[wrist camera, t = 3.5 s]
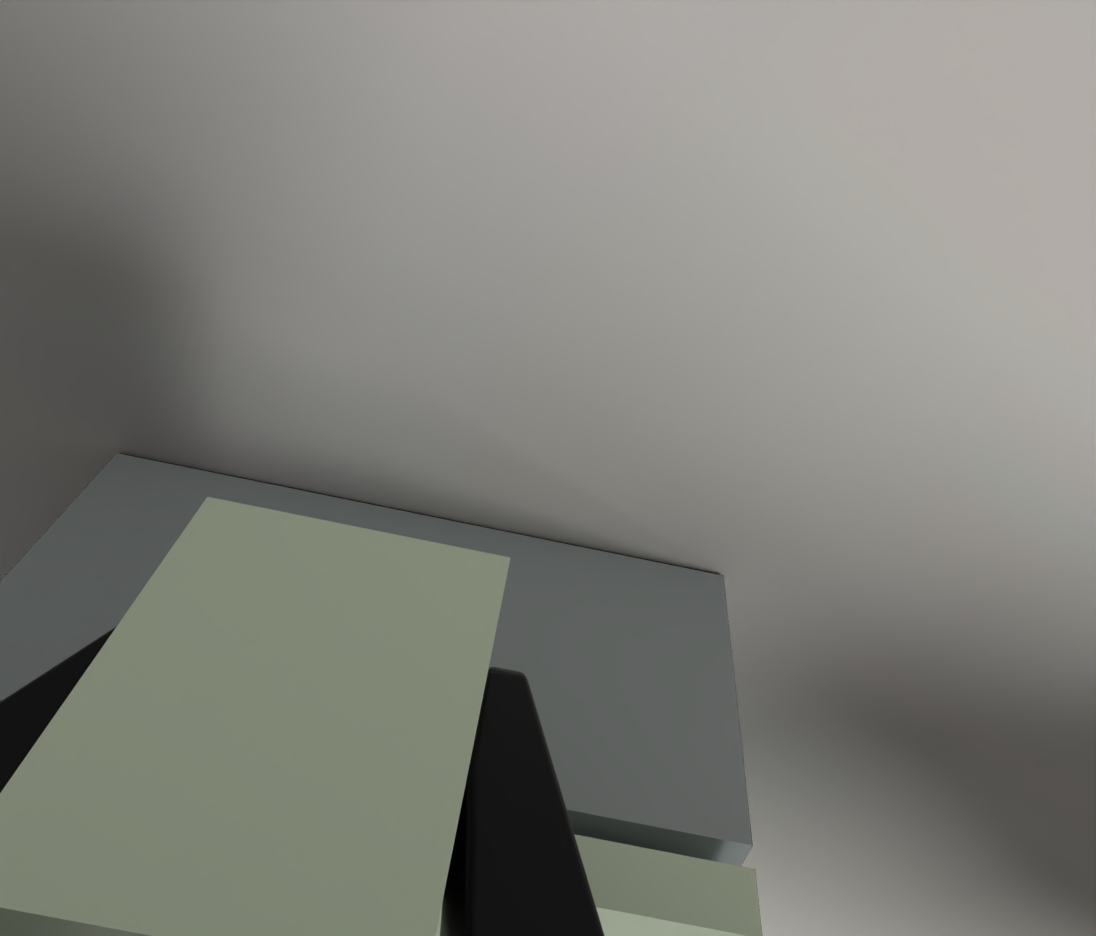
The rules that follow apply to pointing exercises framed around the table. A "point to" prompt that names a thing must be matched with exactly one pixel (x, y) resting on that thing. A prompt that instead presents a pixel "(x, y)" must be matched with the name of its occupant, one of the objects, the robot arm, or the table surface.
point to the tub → (520, 644)
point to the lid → (292, 752)
